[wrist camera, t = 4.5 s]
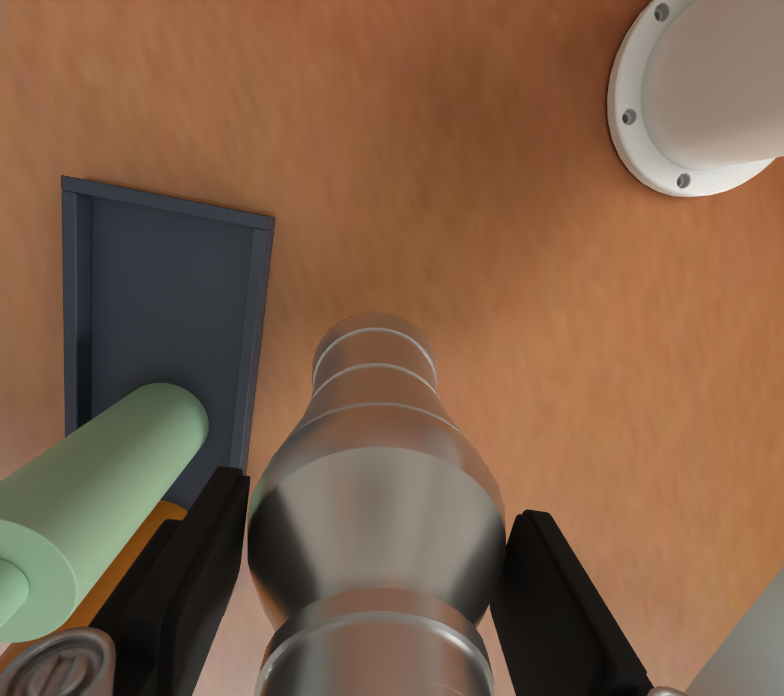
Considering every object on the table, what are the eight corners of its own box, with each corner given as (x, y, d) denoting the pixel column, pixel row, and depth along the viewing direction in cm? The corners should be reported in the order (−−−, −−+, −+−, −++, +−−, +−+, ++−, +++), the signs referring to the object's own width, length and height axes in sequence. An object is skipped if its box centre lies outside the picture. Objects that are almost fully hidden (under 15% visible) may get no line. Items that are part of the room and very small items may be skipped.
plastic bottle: (315, 304, 24) (47, 640, 4) (432, 302, 24) (664, 613, 5) (322, 407, 25) (153, 963, 6) (431, 404, 26) (592, 933, 6)
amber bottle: (119, 494, 31) (-203, 836, 13) (202, 504, 31) (-2, 843, 14) (118, 560, 32) (-173, 943, 15) (197, 568, 33) (6, 945, 15)
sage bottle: (122, 376, 28) (-267, 605, 11) (212, 389, 29) (-21, 627, 11) (120, 453, 30) (-224, 761, 12) (206, 464, 30) (-8, 773, 13)
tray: (85, 179, 25) (60, 175, 23) (275, 217, 27) (267, 216, 24) (85, 579, 33) (66, 601, 31) (232, 593, 34) (223, 616, 32)
